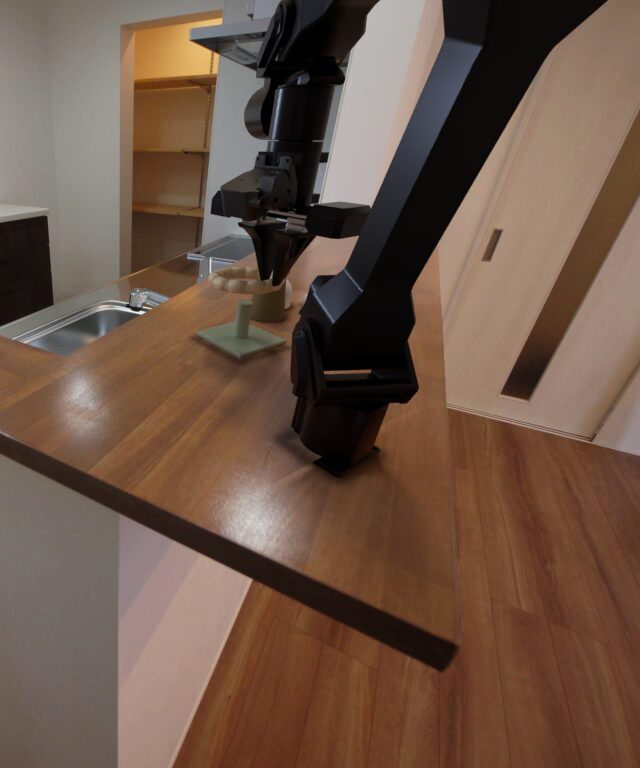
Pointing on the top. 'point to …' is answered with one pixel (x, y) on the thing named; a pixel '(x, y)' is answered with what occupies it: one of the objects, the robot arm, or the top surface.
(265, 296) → the olive pepper mill
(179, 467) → the top surface
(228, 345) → the green peg base
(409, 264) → the robot arm
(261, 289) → the ring
